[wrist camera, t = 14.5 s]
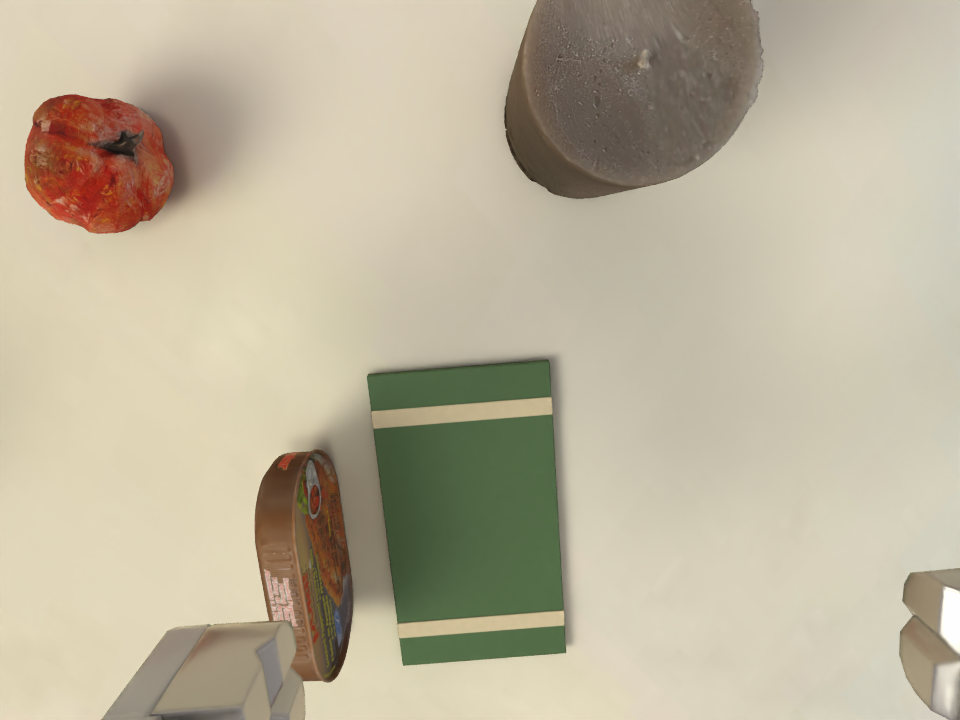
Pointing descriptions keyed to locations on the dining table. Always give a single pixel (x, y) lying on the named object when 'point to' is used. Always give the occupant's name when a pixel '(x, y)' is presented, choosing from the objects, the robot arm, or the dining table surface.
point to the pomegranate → (97, 163)
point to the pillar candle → (629, 90)
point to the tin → (306, 560)
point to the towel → (470, 510)
